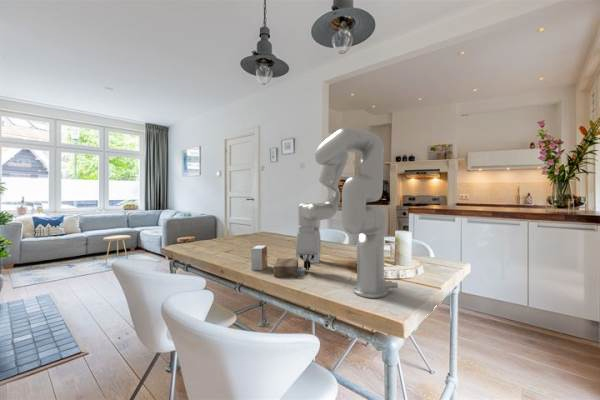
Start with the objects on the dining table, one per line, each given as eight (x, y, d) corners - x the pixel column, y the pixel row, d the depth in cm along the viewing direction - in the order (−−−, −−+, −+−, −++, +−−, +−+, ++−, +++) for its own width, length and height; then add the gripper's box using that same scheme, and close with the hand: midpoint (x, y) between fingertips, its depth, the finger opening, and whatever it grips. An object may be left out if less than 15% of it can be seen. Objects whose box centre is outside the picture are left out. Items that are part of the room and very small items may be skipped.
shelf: (302, 267, 132) (302, 258, 132) (301, 276, 118) (301, 266, 118) (277, 267, 133) (277, 258, 132) (274, 276, 119) (273, 266, 118)
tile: (304, 272, 127) (304, 267, 127) (304, 276, 121) (304, 270, 121) (279, 272, 128) (279, 267, 128) (277, 276, 122) (277, 270, 122)
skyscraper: (306, 260, 148) (306, 209, 148) (321, 259, 148) (320, 208, 147) (306, 264, 140) (305, 210, 139) (321, 264, 139) (321, 210, 139)
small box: (262, 270, 128) (261, 248, 128) (251, 270, 130) (250, 248, 129) (267, 266, 136) (267, 245, 136) (257, 265, 137) (256, 245, 137)
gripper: (322, 228, 128) (323, 267, 129) (291, 228, 129) (291, 267, 129) (323, 231, 120) (323, 271, 121) (290, 231, 121) (290, 271, 122)
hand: (307, 269), depth 125 cm, fingers closed
